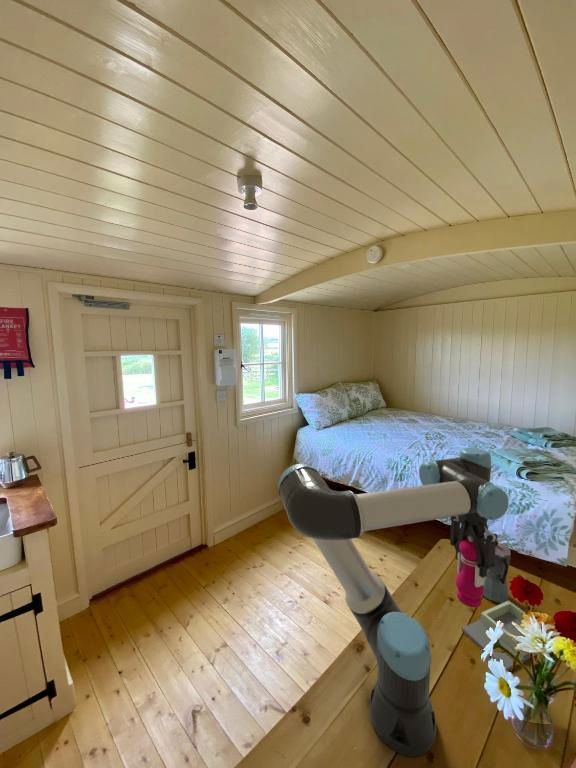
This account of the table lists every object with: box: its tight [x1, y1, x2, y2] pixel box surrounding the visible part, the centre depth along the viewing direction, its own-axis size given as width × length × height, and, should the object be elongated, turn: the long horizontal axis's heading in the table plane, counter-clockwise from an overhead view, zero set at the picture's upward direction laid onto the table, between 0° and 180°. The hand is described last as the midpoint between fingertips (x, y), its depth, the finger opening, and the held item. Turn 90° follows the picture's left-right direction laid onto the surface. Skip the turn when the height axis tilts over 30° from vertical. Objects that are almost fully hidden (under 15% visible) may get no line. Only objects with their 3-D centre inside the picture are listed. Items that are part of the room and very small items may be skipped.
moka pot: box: [482, 540, 512, 604], centre depth 115 cm, size 10×15×20 cm, turn 174°
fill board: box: [461, 599, 530, 671], centre depth 99 cm, size 20×14×4 cm
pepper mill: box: [455, 534, 484, 608], centre depth 94 cm, size 7×7×20 cm
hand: (470, 578), depth 94 cm, fingers closed on pepper mill, 5 cm apart
